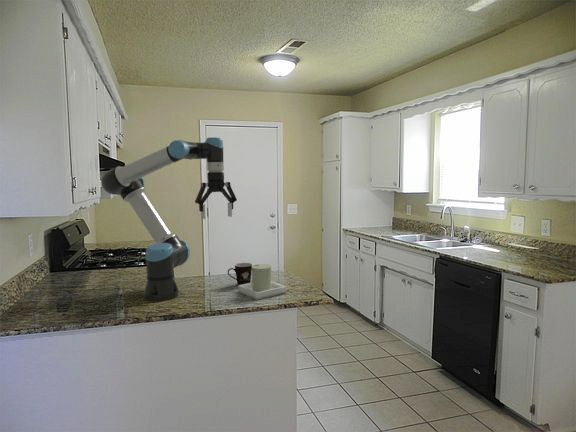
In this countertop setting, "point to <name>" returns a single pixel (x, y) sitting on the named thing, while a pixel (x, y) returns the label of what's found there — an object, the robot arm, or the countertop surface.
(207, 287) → the countertop surface
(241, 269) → the coffee mug
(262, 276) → the can
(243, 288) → the bin
